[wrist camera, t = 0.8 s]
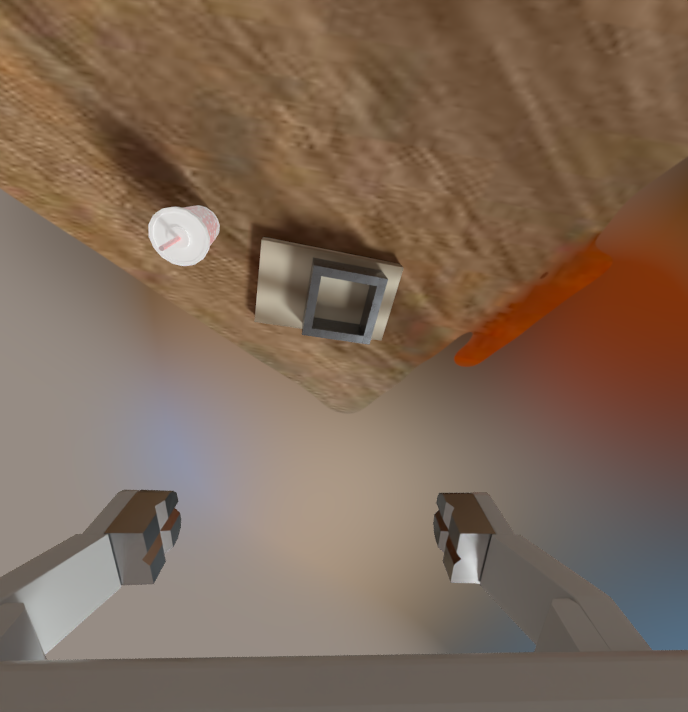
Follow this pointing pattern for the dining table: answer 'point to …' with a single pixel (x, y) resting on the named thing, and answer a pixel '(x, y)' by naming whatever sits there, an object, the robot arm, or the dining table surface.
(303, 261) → the socket board
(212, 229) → the beverage cup
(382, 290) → the cup collar
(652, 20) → the dining table surface
